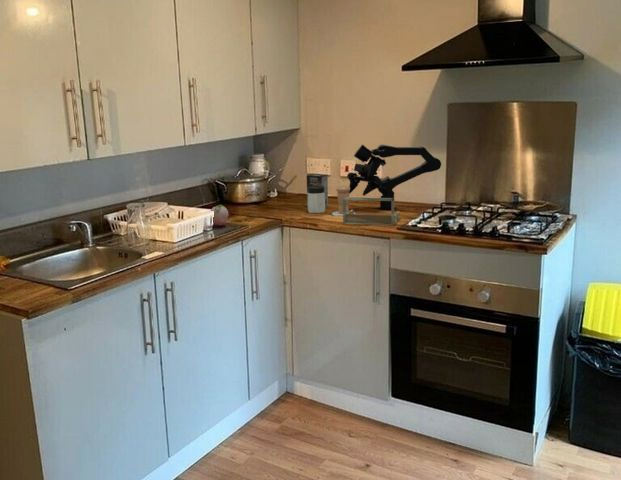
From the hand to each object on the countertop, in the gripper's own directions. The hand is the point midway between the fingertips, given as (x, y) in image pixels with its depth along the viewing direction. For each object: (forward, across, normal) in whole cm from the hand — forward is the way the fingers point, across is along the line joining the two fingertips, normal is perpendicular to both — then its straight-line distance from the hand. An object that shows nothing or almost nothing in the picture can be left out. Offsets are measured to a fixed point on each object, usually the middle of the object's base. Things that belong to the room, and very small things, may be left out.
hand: (356, 194), depth 300 cm
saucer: (+12, -1, +1) cm, 12 cm away
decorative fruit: (+49, -23, -38) cm, 67 cm away
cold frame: (+14, +21, -3) cm, 26 cm away
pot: (+11, -1, 0) cm, 11 cm away
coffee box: (+8, -25, +6) cm, 27 cm away
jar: (+14, -16, -1) cm, 21 cm away
